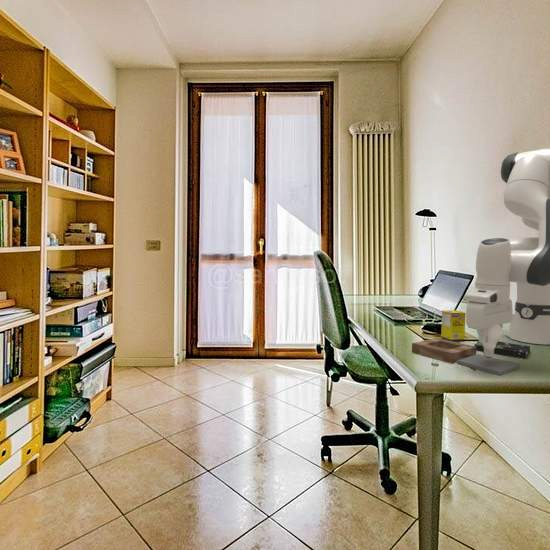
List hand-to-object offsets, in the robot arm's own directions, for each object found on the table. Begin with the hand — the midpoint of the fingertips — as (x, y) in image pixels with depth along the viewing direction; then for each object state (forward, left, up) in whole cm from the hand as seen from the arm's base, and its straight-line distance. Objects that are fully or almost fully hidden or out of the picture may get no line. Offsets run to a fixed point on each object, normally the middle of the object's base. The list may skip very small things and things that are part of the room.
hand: (489, 340), depth 107 cm
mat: (0, 0, -8) cm, 8 cm away
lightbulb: (0, 0, -5) cm, 5 cm away
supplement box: (-21, -23, -8) cm, 32 cm away
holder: (0, -14, -8) cm, 16 cm away
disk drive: (-20, -5, -8) cm, 22 cm away
